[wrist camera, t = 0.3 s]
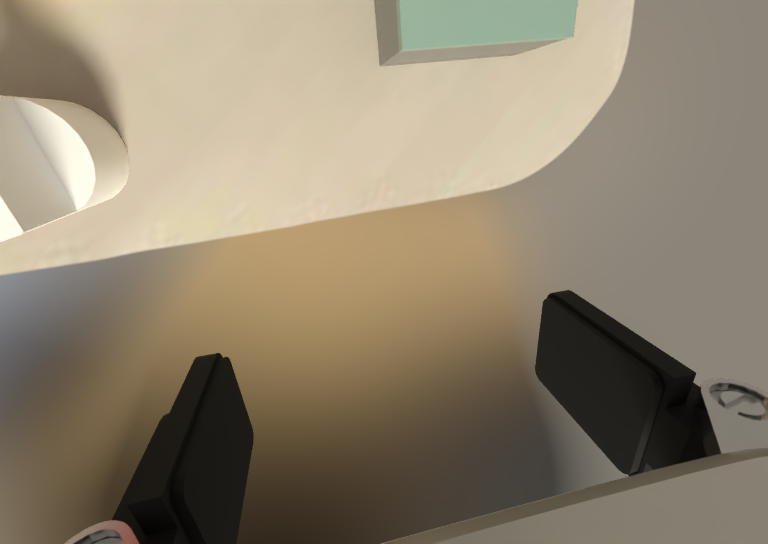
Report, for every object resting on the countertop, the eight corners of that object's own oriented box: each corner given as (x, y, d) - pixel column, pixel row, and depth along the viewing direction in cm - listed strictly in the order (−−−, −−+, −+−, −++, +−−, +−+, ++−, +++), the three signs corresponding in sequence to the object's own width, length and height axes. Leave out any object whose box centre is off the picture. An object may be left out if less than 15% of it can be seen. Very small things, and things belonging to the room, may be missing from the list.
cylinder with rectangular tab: (147, 192, 35) (74, 225, 24) (49, 213, 34) (-74, 257, 23) (99, 90, 31) (-14, 74, 20) (-13, 111, 30) (-195, 106, 19)
